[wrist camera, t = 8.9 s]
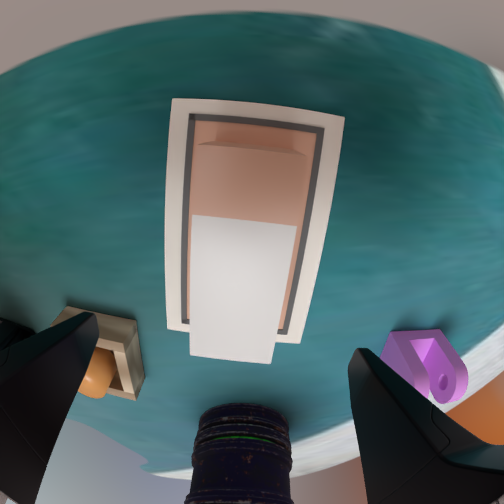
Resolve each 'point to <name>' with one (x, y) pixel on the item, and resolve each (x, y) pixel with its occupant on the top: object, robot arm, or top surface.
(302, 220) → the picture board
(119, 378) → the button block
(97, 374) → the button
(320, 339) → the top surface
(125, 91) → the top surface
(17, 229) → the top surface
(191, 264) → the two-tone rectangular block
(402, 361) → the bracket
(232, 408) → the storage jar
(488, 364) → the top surface
